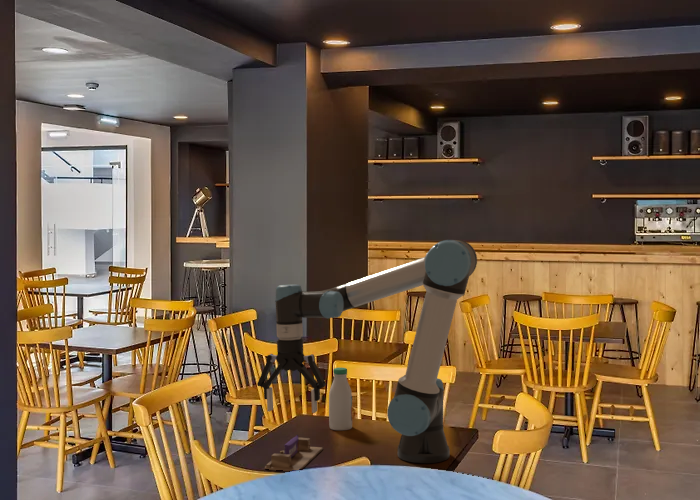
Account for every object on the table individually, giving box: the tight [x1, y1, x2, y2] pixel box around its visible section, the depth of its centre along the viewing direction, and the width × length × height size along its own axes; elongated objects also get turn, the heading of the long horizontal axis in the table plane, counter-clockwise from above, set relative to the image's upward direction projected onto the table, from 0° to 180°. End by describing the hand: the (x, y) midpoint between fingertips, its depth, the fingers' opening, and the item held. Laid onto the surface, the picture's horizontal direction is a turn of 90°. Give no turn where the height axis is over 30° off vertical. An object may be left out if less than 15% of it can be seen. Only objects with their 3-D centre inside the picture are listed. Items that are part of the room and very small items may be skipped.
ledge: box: [264, 437, 323, 472], centre depth 223 cm, size 22×10×4 cm, turn 165°
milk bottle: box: [328, 367, 353, 431], centre depth 256 cm, size 8×8×20 cm
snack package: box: [283, 434, 300, 458], centre depth 223 cm, size 12×2×5 cm, turn 165°
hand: (292, 411), depth 222 cm, fingers open, 13 cm apart
